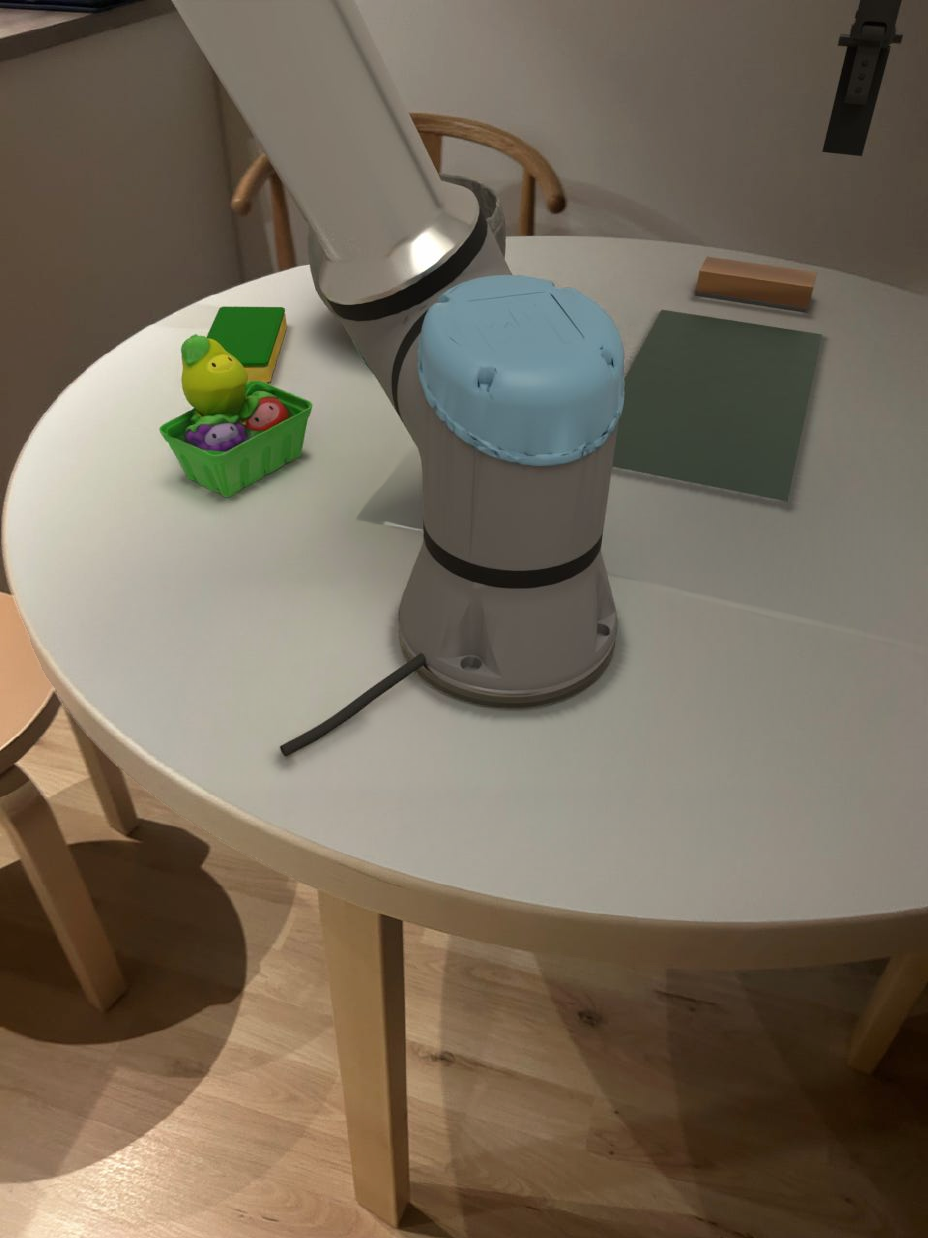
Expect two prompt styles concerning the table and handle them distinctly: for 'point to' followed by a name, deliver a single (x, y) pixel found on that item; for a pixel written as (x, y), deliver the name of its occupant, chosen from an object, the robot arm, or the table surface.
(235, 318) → the dish sponge
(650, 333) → the chalkboard
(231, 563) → the table surface
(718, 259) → the board eraser
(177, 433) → the fruit basket
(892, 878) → the table surface
